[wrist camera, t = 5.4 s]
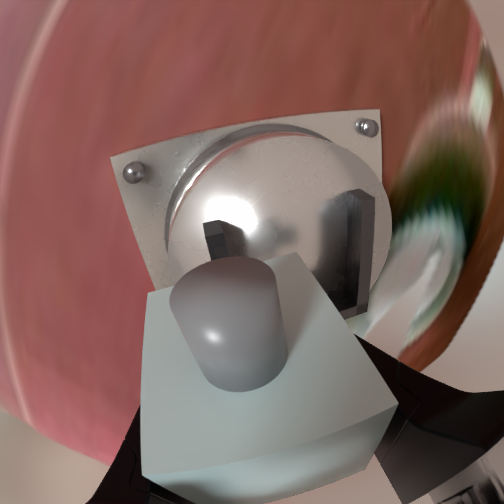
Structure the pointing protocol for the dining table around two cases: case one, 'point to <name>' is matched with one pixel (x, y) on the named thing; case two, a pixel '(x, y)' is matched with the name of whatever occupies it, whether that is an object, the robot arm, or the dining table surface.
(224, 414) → the block with peg
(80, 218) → the dining table surface
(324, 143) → the metal mounting base
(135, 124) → the dining table surface
